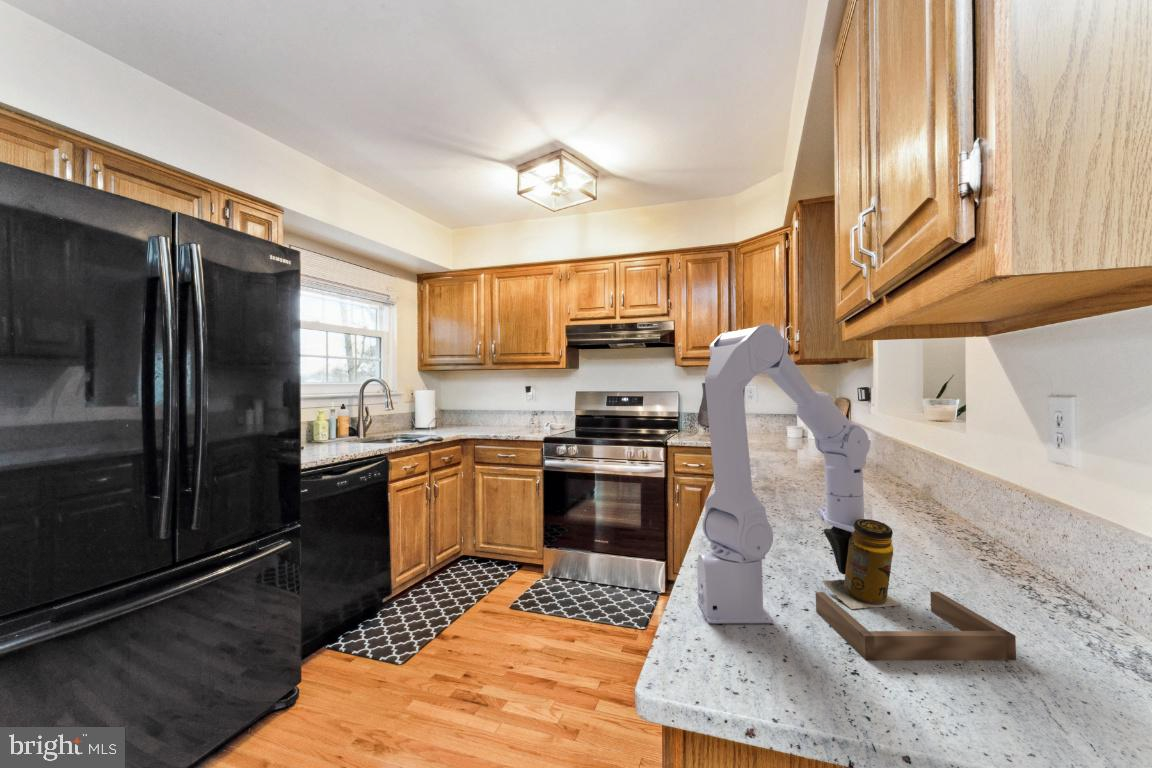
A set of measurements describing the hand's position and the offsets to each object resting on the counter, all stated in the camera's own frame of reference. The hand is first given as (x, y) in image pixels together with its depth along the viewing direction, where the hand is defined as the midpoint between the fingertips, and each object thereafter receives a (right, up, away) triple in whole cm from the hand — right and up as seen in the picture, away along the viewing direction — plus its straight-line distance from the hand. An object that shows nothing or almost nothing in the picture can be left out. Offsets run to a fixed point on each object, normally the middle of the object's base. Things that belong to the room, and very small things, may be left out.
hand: (846, 573), depth 82 cm
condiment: (0, -2, -4) cm, 4 cm away
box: (-1, -2, -15) cm, 16 cm away
